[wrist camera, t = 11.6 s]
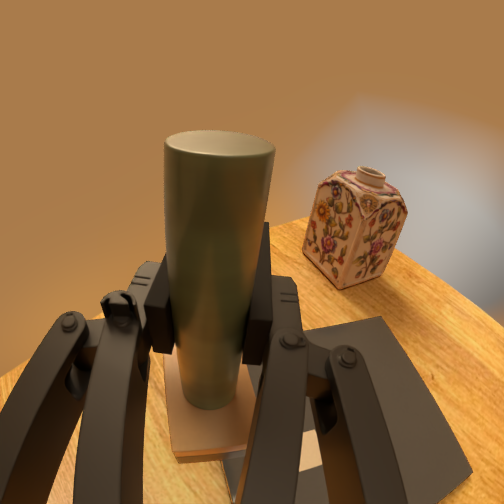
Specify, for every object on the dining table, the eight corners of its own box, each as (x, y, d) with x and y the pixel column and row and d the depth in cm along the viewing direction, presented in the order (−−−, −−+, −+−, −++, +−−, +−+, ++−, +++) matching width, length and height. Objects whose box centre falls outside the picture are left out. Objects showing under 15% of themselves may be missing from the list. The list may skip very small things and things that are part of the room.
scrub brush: (167, 365, 17) (144, 119, 9) (234, 359, 19) (268, 123, 10) (178, 463, 12) (91, 202, 3) (259, 453, 13) (380, 203, 5)
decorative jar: (337, 292, 43) (375, 186, 33) (298, 251, 52) (321, 155, 42) (384, 276, 48) (420, 186, 38) (345, 242, 57) (370, 159, 47)
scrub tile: (198, 349, 32) (198, 342, 31) (377, 321, 39) (381, 315, 38) (257, 581, 10) (260, 584, 9) (467, 475, 17) (473, 471, 16)
